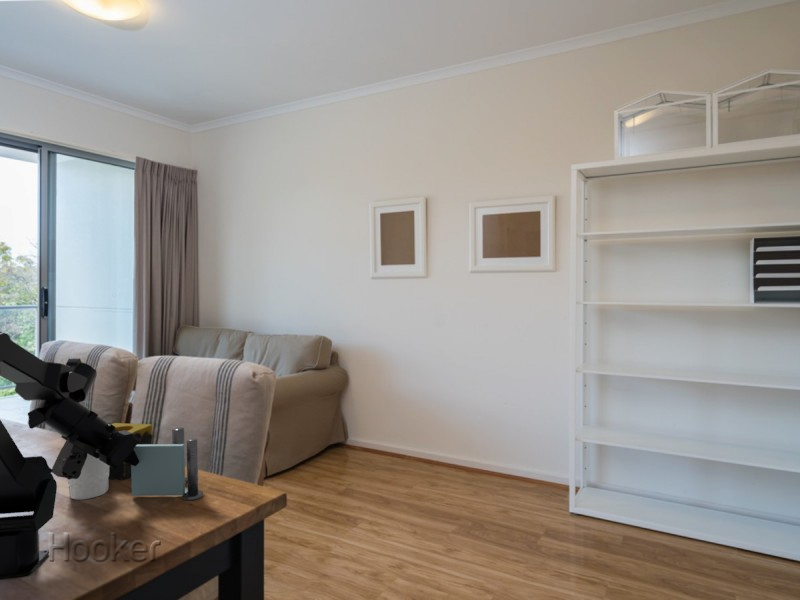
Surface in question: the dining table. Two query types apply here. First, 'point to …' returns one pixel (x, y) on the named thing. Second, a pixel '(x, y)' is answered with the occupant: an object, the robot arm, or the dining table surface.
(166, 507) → the dining table surface
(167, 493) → the gate
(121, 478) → the holed cube box
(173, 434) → the post
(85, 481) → the white cup
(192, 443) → the hinge post
